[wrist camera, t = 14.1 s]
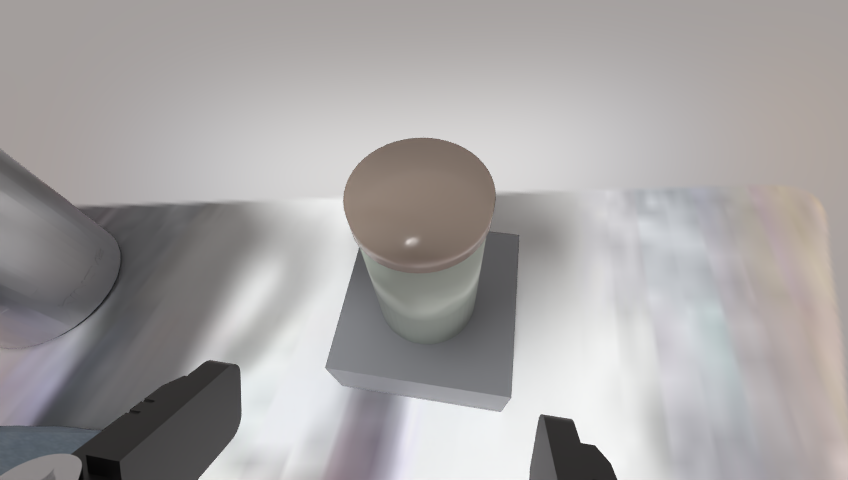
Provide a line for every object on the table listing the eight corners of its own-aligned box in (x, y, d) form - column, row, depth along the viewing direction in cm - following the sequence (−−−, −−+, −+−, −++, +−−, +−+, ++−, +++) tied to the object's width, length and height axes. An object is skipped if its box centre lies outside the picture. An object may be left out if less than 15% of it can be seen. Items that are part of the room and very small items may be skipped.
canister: (369, 338, 20) (324, 248, 13) (389, 250, 23) (363, 132, 16) (471, 353, 20) (489, 268, 12) (480, 261, 23) (500, 144, 15)
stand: (342, 385, 23) (325, 367, 20) (377, 251, 28) (367, 217, 24) (500, 411, 22) (511, 397, 19) (509, 267, 27) (519, 234, 23)
